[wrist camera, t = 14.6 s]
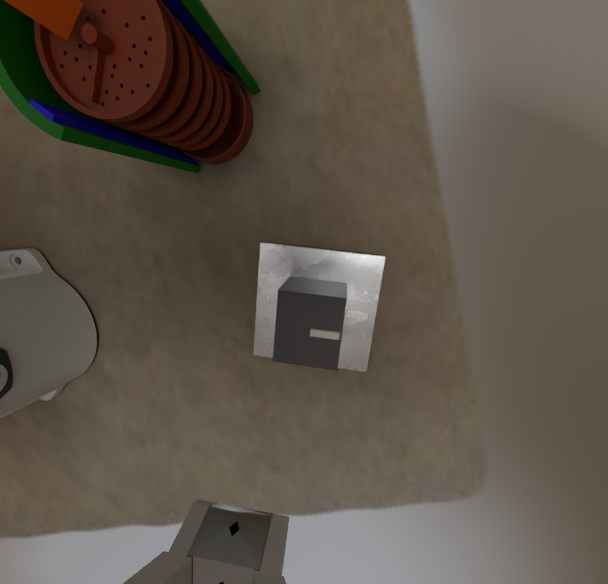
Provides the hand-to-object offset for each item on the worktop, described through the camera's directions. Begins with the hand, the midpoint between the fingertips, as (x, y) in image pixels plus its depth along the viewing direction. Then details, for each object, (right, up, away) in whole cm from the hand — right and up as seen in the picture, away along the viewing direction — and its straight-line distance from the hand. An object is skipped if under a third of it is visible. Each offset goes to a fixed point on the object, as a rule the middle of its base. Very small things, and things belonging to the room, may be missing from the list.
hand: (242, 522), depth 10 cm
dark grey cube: (+3, +5, +22) cm, 23 cm away
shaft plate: (+3, +6, +23) cm, 24 cm away
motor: (-7, +24, +20) cm, 32 cm away
